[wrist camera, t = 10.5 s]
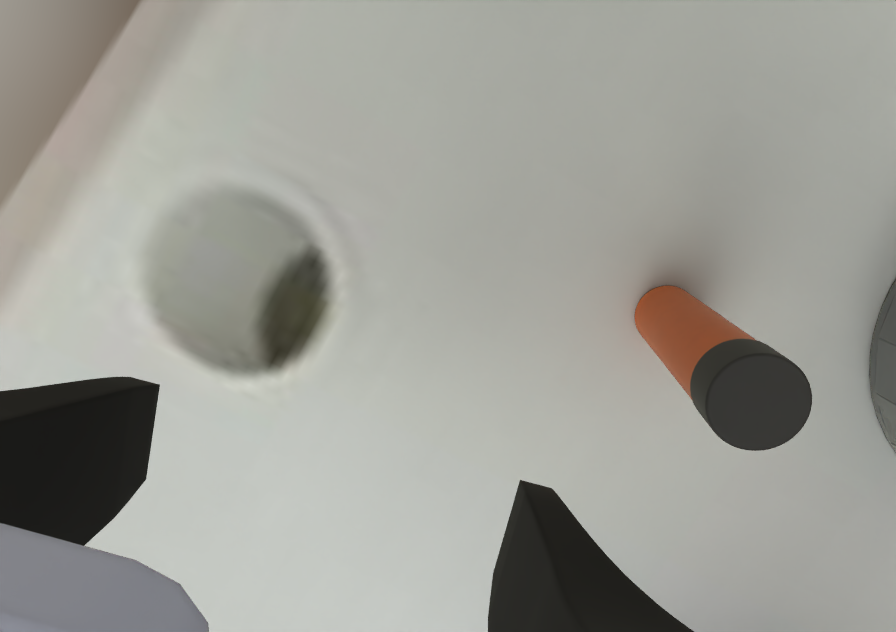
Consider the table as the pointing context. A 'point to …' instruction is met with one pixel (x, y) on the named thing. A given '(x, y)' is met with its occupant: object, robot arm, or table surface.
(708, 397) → the marker
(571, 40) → the table surface
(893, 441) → the pot
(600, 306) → the table surface
